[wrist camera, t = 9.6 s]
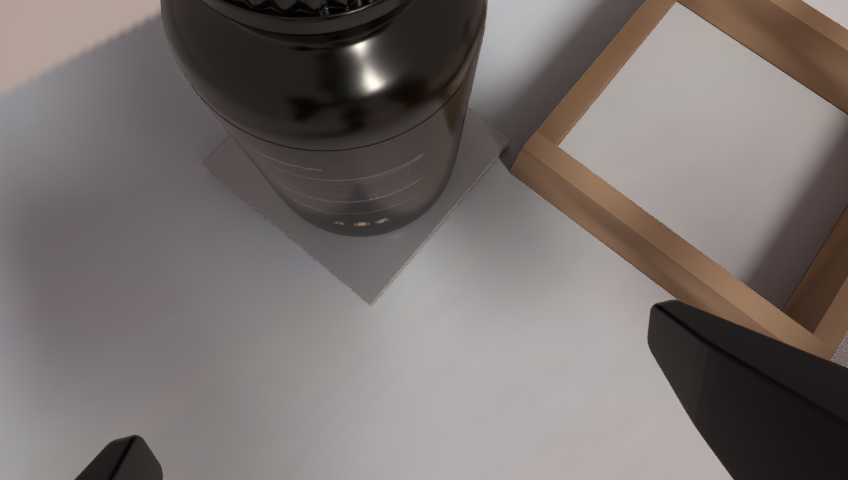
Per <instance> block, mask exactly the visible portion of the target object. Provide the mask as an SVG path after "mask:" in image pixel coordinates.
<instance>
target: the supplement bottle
mask: <svg viewBox="0 0 848 480" xmlns="http://www.w3.org/2000/svg"><path fill="white" fill-rule="evenodd" d="M487 4H488V0H161V13H162V20H163V25H164V30H165V33H166V36H167V40H168V43H169V46H170V49H171V51H172V53H173V55H174V57H175V60H176V62H177V63H178V65H179V67H180V68H181V70H182V72H183V73H184V75H185V76H186V78H187V80H188V81H189V82H190V84H191V85H192V87H193V88H194V90H195V91H196V92H197V94H198V95H199V96H200V97H201V99H202V100H203V101H204V103H205V104H206V105H207V106H208V108H209V109H210V110H211V111H212V113H213V114H214V115H215V116H216V118H217V119H218V120H219V121H220V123H221V124H222V125H223V127H224V128H225V129H226V130H227V132H228V133H229V134H230V135H231V137H232V138H233V139H234V140H235V142H236V143H237V144H238V145H239V147H240V148H241V149H242V150H243V152H244V153H245V154H246V155H247V157H248V158H249V159H250V160H251V162H252V163H253V164H254V165H255V167H256V168H257V169H258V170H259V172H260V173H261V174H262V175H263V177H264V178H265V179H266V180H267V182H268V183H269V184H270V186H271V187H272V188H273V189H274V191H275V192H276V193H277V194H278V196H279V197H280V198H281V199H282V200H283V201H284V202H285V203H286V204H287V206H288V207H289V208H290V209H291V210H292V211H294V212H295V213H296V214H297V215H298V216H300V217H301V218H302V219H304V220H305V221H307V222H308V223H310V224H312V225H313V226H315V227H317V228H320V229H322V230H324V231H327V232H330V233H334V234H338V235H343V236H351V237H369V236H377V235H382V234H386V233H390V232H393V231H395V230H398V229H401V228H403V227H405V226H407V225H409V224H410V223H412V222H414V221H415V220H417V219H418V218H419V217H421V216H422V215H423V214H425V213H426V212H427V211H428V210H429V209H430V208H431V207H432V206H433V205H434V204H435V203H436V201H437V200H438V199H439V197H440V196H441V195H442V193H443V191H444V190H445V188H446V186H447V184H448V182H449V180H450V177H451V175H452V172H453V169H454V166H455V162H456V158H457V154H458V150H459V145H460V141H461V136H462V132H463V127H464V123H465V118H466V113H467V109H468V104H469V100H470V95H471V91H472V86H473V82H474V77H475V73H476V68H477V63H478V59H479V54H480V50H481V45H482V40H483V35H484V30H485V23H486V15H487Z"/></svg>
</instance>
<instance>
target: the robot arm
mask: <svg viewBox="0 0 848 480" xmlns="http://www.w3.org/2000/svg"><path fill="white" fill-rule="evenodd" d="M648 345H649V348H650V351H651V352H652V354H653V356H654V358H655V359H656V361H657V363H658V365H659V366H660V368H661V370H662V371H663V373H664V375H665V377H666V378H667V380H668V382H669V383H670V385H671V387H672V389H673V390H674V392H675V394H676V395H677V397H678V399H679V401H680V402H681V404H682V406H683V407H684V409H685V411H686V413H687V414H688V416H689V417H690V419H691V421H692V422H693V424H694V425H695V427H696V428H697V430H698V431H699V433H700V434H701V435H702V437H703V438H704V440H705V441H706V442H707V444H708V445H709V447H710V448H711V449H712V451H713V452H714V453H715V455H716V456H717V458H718V459H719V460H720V462H721V463H722V464H723V466H724V467H725V468H726V470H727V471H728V473H729V474H730V475H731V477H732V478H733V479H734V480H848V368H846V367H843V366H841V365H838V364H836V363H833V362H831V361H828V360H826V359H824V358H821V357H819V356H816V355H814V354H811V353H809V352H806V351H804V350H801V349H799V348H796V347H794V346H791V345H789V344H786V343H784V342H781V341H779V340H776V339H774V338H771V337H769V336H766V335H764V334H761V333H759V332H756V331H754V330H751V329H749V328H746V327H744V326H741V325H739V324H736V323H734V322H731V321H729V320H726V319H724V318H721V317H719V316H716V315H714V314H711V313H709V312H706V311H704V310H701V309H699V308H696V307H694V306H691V305H689V304H686V303H684V302H681V301H678V300H668V301H664V302H660V303H656V304H654V305H653V306H652V307H651V310H650V318H649V327H648ZM75 480H163V473H162V468H161V465H160V463H159V462H158V460H157V459H156V457H155V456H154V454H153V453H152V451H151V450H150V448H149V447H148V445H147V444H146V442H145V441H144V439H143V438H142V437H140V436H138V435H132V436H128V437H124V438H120V439H117V440H114V441H112V442H110V443H109V444H108V445H107V446H106V447H105V448H104V449H103V450H102V451H101V452H100V453H99V454H98V455H97V456H96V457H95V458H94V459H93V461H92V462H91V463H90V464H89V465H88V466H87V467H86V468H85V469H84V470H83V471H82V472H81V473H80V474H79V475H78V476H77V478H76V479H75Z"/></svg>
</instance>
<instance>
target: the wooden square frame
mask: <svg viewBox="0 0 848 480" xmlns="http://www.w3.org/2000/svg"><path fill="white" fill-rule="evenodd" d="M676 1H678V2H680V3H681V4H683V5H684V6H686V7H687V8H689V9H690V10H692V11H693V12H695V13H696V14H698V15H699V16H701V17H702V18H704V19H705V20H707V21H708V22H710V23H711V24H713V25H714V26H716V27H717V28H719V29H720V30H722V31H723V32H725V33H727V34H728V35H730V36H731V37H733V38H734V39H736V40H737V41H739V42H740V43H742V44H743V45H745V46H746V47H748V48H749V49H751V50H752V51H754V52H755V53H757V54H758V55H760V56H761V57H763V58H764V59H766V60H767V61H769V62H770V63H772V64H773V65H775V66H776V67H778V68H779V69H781V70H782V71H784V72H785V73H787V74H788V75H790V76H791V77H793V78H794V79H796V80H797V81H799V82H800V83H802V84H803V85H805V86H806V87H808V88H809V89H811V90H812V91H814V92H816V93H817V94H819V95H820V96H822V97H823V98H825V99H826V100H828V101H829V102H831V103H832V104H834V105H835V106H837V107H838V108H840V109H841V110H843V111H844V112H846V113H847V114H848V30H847V29H845V28H844V27H842V26H841V25H839V24H838V23H836V22H834V21H833V20H831V19H830V18H828V17H827V16H825V15H823V14H822V13H820V12H819V11H817V10H816V9H814V8H812V7H811V6H809V5H808V4H806V3H805V2H803V1H802V0H645V1H644V2H643V4H642V5H641V6H640V7H639V8H638V9H637V11H636V12H635V13H634V14H633V15H632V17H631V18H630V19H629V20H628V21H627V23H626V24H625V25H624V26H623V27H622V29H621V30H620V31H619V32H618V33H617V35H616V36H615V37H614V38H613V39H612V40H611V42H610V43H609V44H608V45H607V46H606V48H605V49H604V50H603V51H602V52H601V54H600V55H599V56H598V57H597V58H596V60H595V61H594V62H593V63H592V64H591V66H590V67H589V68H588V69H587V70H586V72H585V73H584V74H583V75H582V76H581V77H580V79H579V80H578V81H577V82H576V83H575V85H574V86H573V87H572V88H571V89H570V91H569V92H568V93H567V94H566V95H565V97H564V98H563V99H562V100H561V101H560V103H559V104H558V105H557V106H556V107H555V108H554V110H553V111H552V112H551V113H550V114H549V116H548V117H547V118H546V119H545V120H544V122H543V123H542V124H541V125H540V126H539V128H538V129H537V130H536V131H535V132H534V134H533V135H532V136H531V137H530V138H529V140H528V141H527V142H526V143H525V144H524V145H523V147H522V148H521V150H520V152H519V154H518V156H517V158H516V160H515V162H514V164H513V166H512V168H511V170H510V171H509V172H510V173H512V174H513V175H514V176H515V177H517V178H518V179H519V180H521V181H522V182H523V183H525V184H526V185H527V186H529V187H530V188H531V189H533V190H534V191H535V192H537V193H538V194H539V195H541V196H542V197H543V198H545V199H546V200H547V201H549V202H550V203H551V204H553V205H554V206H555V207H556V208H558V209H559V210H560V211H562V212H563V213H564V214H566V215H567V216H568V217H570V218H571V219H572V220H574V221H575V222H576V223H578V224H579V225H580V226H582V227H583V228H584V229H586V230H587V231H588V232H590V233H591V234H592V235H594V236H595V237H596V238H598V239H599V240H600V241H601V242H603V243H604V244H605V245H607V246H608V247H609V248H611V249H612V250H613V251H615V252H616V253H617V254H619V255H620V256H621V257H623V258H624V259H625V260H627V261H628V262H629V263H631V264H632V265H633V266H635V267H636V268H637V269H639V270H640V271H641V272H642V273H644V274H645V275H646V276H648V277H649V278H650V279H652V280H653V281H654V282H656V283H657V284H658V285H660V286H661V287H662V288H664V289H665V290H666V291H668V292H669V293H670V294H672V295H673V296H674V297H676V298H677V299H678V300H680V301H681V302H684V303H686V304H689V305H691V306H694V307H696V308H699V309H701V310H704V311H706V312H709V313H711V314H714V315H716V316H719V317H721V318H724V319H726V320H729V321H731V322H734V323H736V324H739V325H741V326H744V327H746V328H749V329H751V330H754V331H756V332H759V333H761V334H764V335H766V336H769V337H771V338H774V339H776V340H779V341H781V342H784V343H786V344H789V345H791V346H794V347H796V348H799V349H801V350H804V351H806V352H809V353H811V354H814V355H816V356H819V357H821V358H824V359H826V360H828V361H830V360H831V358H832V356H833V354H834V353H835V351H836V349H837V348H838V346H839V344H840V342H841V341H842V339H843V337H844V336H845V334H846V332H847V330H848V206H847V208H846V209H845V211H844V212H843V214H842V216H841V217H840V219H839V220H838V222H837V224H836V225H835V227H834V229H833V230H832V232H831V233H830V235H829V237H828V238H827V240H826V241H825V243H824V245H823V246H822V248H821V249H820V251H819V253H818V254H817V256H816V257H815V259H814V261H813V262H812V264H811V265H810V267H809V269H808V270H807V272H806V273H805V275H804V277H803V278H802V280H801V281H800V283H799V285H798V286H797V288H796V290H795V291H794V293H793V294H792V296H791V298H790V299H789V301H788V302H787V304H786V306H785V307H784V309H783V310H782V311H780V310H779V309H778V308H776V307H775V306H774V305H772V304H771V303H769V302H768V301H767V300H765V299H764V298H763V297H761V296H760V295H759V294H757V293H756V292H755V291H753V290H752V289H750V288H749V287H748V286H746V285H745V284H744V283H742V282H741V281H740V280H738V279H737V278H735V277H734V276H733V275H731V274H730V273H729V272H727V271H726V270H725V269H723V268H722V267H721V266H719V265H718V264H716V263H715V262H714V261H712V260H711V259H710V258H708V257H707V256H706V255H704V254H703V253H702V252H700V251H699V250H697V249H696V248H695V247H693V246H692V245H691V244H689V243H688V242H687V241H685V240H684V239H682V238H681V237H680V236H678V235H677V234H676V233H674V232H673V231H672V230H670V229H669V228H668V227H666V226H665V225H663V224H662V223H661V222H659V221H658V220H657V219H655V218H654V217H653V216H651V215H650V214H649V213H647V212H646V211H644V210H643V209H642V208H640V207H639V206H638V205H636V204H635V203H634V202H632V201H631V200H629V199H628V198H627V197H625V196H624V195H623V194H621V193H620V192H619V191H617V190H616V189H615V188H613V187H612V186H610V185H609V184H608V183H606V182H605V181H604V180H602V179H601V178H600V177H598V176H597V175H596V174H594V173H593V172H591V171H590V170H589V169H587V168H586V167H585V166H583V165H582V164H581V163H579V162H578V161H576V160H575V159H574V158H572V157H571V156H570V155H568V154H567V153H566V152H564V151H563V150H562V149H560V148H559V147H557V146H558V145H559V144H560V143H561V141H562V140H563V139H564V138H565V136H566V135H567V134H568V133H569V132H570V130H571V129H572V128H573V127H574V125H575V124H576V123H577V122H578V121H579V119H580V118H581V117H582V116H583V114H584V113H585V112H586V111H587V110H588V108H589V107H590V106H591V105H592V103H593V102H594V101H595V100H596V99H597V97H598V96H599V95H600V94H601V92H602V91H603V90H604V89H605V88H606V86H607V85H608V84H609V83H610V81H611V80H612V79H613V78H614V77H615V75H616V74H617V73H618V72H619V70H620V69H621V68H622V67H623V66H624V64H625V63H626V62H627V61H628V59H629V58H630V57H631V56H632V55H633V53H634V52H635V51H636V50H637V48H638V47H639V46H640V45H641V44H642V42H643V41H644V40H645V39H646V37H647V36H648V35H649V34H650V32H651V31H652V30H653V29H654V28H655V26H656V25H657V24H658V23H659V21H660V20H661V19H662V18H663V17H664V15H665V14H666V13H667V12H668V10H669V9H670V8H671V7H672V6H673V4H674V3H675V2H676Z"/></svg>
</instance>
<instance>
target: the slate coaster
mask: <svg viewBox="0 0 848 480" xmlns="http://www.w3.org/2000/svg"><path fill="white" fill-rule="evenodd" d="M509 141H510V139H509V138H508V137H507V136H505V135H504V134H503V133H501V132H500V131H499V130H497V129H496V128H495V127H493V126H492V125H491V124H489V123H488V122H487V121H485V120H484V119H483V118H481V117H480V116H479V115H477V114H476V113H475V112H473V111H472V110H471V109H469V108H468V109H467V113H466V118H465V123H464V127H463V132H462V136H461V141H460V145H459V150H458V154H457V158H456V162H455V166H454V169H453V172H452V175H451V177H450V180H449V182H448V184H447V186H446V188H445V190H444V191H443V193H442V195H441V196H440V197H439V199H438V200H437V201H436V203H435V204H434V205H433V206H432V207H431V208H430V209H429V210H428V211H427V212H426V213H425V214H423V215H422V216H421V217H419V218H418V219H417V220H415V221H414V222H412V223H410V224H409V225H407V226H405V227H403V228H401V229H398V230H395V231H393V232H390V233H386V234H382V235H377V236H369V237H351V236H343V235H338V234H334V233H330V232H327V231H324V230H322V229H320V228H317V227H315V226H313V225H312V224H310V223H308V222H307V221H305V220H304V219H302V218H301V217H300V216H298V215H297V214H296V213H295V212H294V211H292V210H291V209H290V208H289V207H288V206H287V204H286V203H285V202H284V201H283V200H282V199H281V198H280V197H279V196H278V194H277V193H276V192H275V191H274V189H273V188H272V187H271V186H270V184H269V183H268V182H267V180H266V179H265V178H264V177H263V175H262V174H261V173H260V172H259V170H258V169H257V168H256V167H255V165H254V164H253V163H252V162H251V160H250V159H249V158H248V157H247V155H246V154H245V153H244V152H243V150H242V149H241V148H240V147H239V145H238V144H237V143H236V142H235V140H234V139H233V138H232V137H231V135H230V136H229V137H228V138H227V139H226V140H225V141H224V142H223V143H222V144H221V145H220V146H219V147H218V148H217V149H216V150H215V151H214V152H213V153H212V154H211V155H210V156H209V157H208V158H207V159H206V160H205V161H204V162H203V163H202V164H203V165H204V166H205V167H206V168H207V169H208V170H209V171H210V172H211V173H213V174H214V175H215V176H216V177H217V178H219V179H220V180H221V181H222V182H223V183H225V184H226V185H227V186H228V187H229V188H231V189H232V190H233V191H234V192H235V193H236V194H238V195H239V196H240V197H241V198H242V199H244V200H245V201H246V202H247V203H248V204H250V205H251V206H252V207H253V208H254V209H256V210H257V211H258V212H259V213H260V214H262V215H263V216H264V217H265V218H266V219H267V220H269V221H270V222H271V223H272V224H273V225H275V226H276V227H277V228H278V229H279V230H281V231H282V232H283V233H284V234H285V235H287V236H288V237H289V238H290V239H291V240H293V241H294V242H295V243H296V244H297V245H299V246H300V247H301V248H302V249H303V250H304V251H306V252H307V253H308V254H309V255H310V256H312V257H313V258H314V259H315V260H316V261H318V262H319V263H320V264H321V265H322V266H324V267H325V268H326V269H327V270H328V271H330V272H331V273H332V274H333V275H334V276H335V277H337V278H338V279H339V280H340V281H341V282H343V283H344V284H345V285H346V286H347V287H349V288H350V289H351V290H352V291H353V292H355V293H356V294H357V295H358V296H359V297H361V298H362V299H363V300H364V301H365V302H367V303H368V304H369V305H370V306H372V305H373V304H374V303H375V301H376V300H377V299H378V298H379V297H380V296H381V294H382V293H383V292H384V291H385V290H386V288H387V287H388V286H389V285H390V284H391V283H392V281H393V280H394V279H395V278H396V277H397V276H398V274H399V273H400V272H401V271H402V270H403V268H404V267H405V266H406V265H407V264H408V263H409V261H410V260H411V259H412V258H413V257H414V255H415V254H416V253H417V252H418V251H419V250H420V248H421V247H422V246H423V245H424V244H425V242H426V241H427V240H428V239H429V238H430V237H431V235H432V234H433V233H434V232H435V231H436V229H437V228H438V227H439V226H440V225H441V224H442V222H443V221H444V220H445V219H446V218H447V217H448V215H449V214H450V213H451V212H452V211H453V209H454V208H455V207H456V206H457V205H458V204H459V202H460V201H461V200H462V199H463V198H464V196H465V195H466V194H467V193H468V192H469V191H470V189H471V188H472V187H473V186H474V185H475V183H476V182H477V181H478V180H479V179H480V178H481V176H482V175H483V174H484V173H485V172H486V170H487V169H488V168H489V167H490V166H491V165H492V163H493V162H494V161H495V160H496V159H497V158H498V156H499V155H500V154H501V153H502V152H503V150H504V149H505V148H506V147H507V145H508V143H509Z"/></svg>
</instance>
